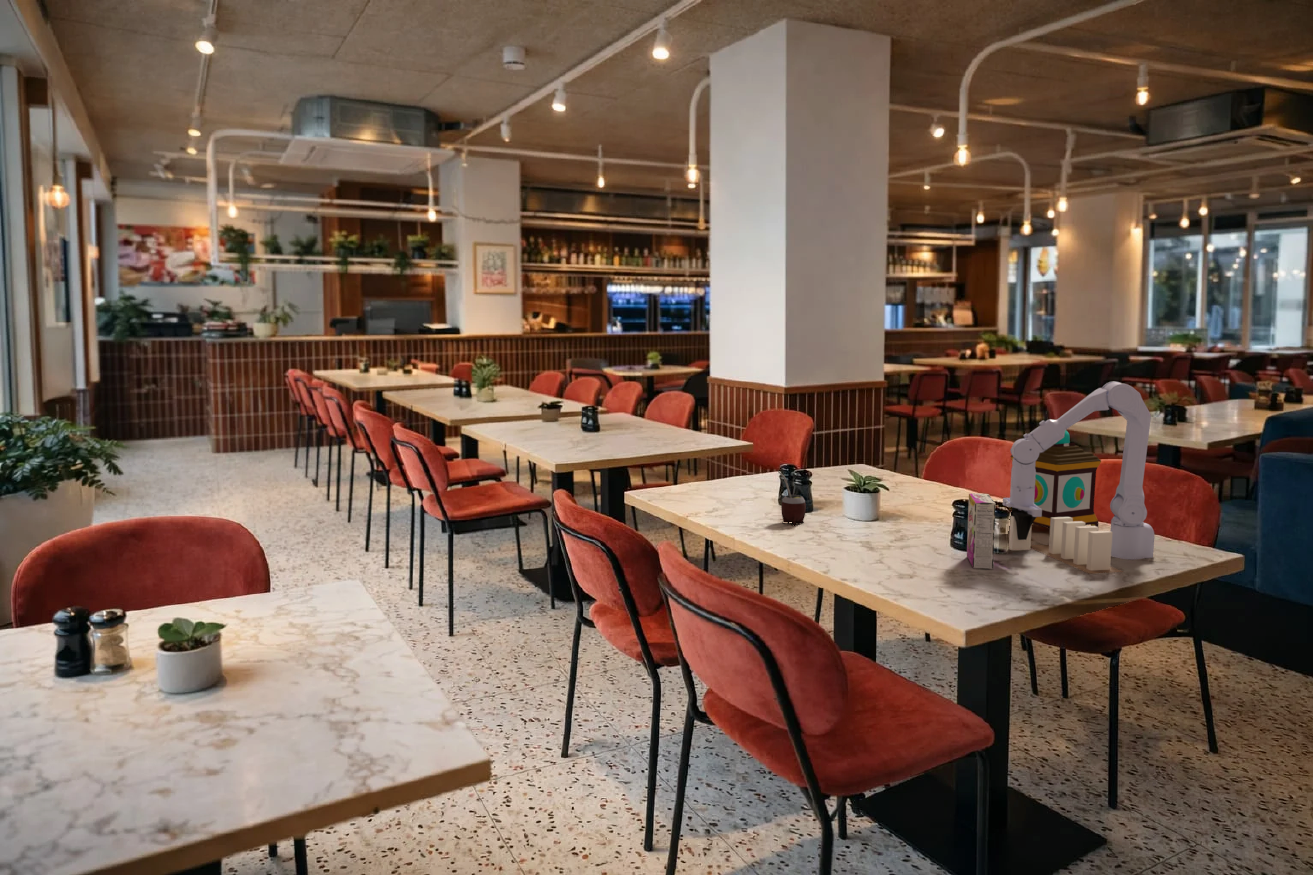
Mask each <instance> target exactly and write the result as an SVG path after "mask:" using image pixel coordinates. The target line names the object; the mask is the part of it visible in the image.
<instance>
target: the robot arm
mask: <svg viewBox="0 0 1313 875" xmlns="http://www.w3.org/2000/svg"><path fill="white" fill-rule="evenodd" d="M1110 408H1111V409H1113V410H1115V411H1116V412H1117V413H1118V414H1119V415H1120V416H1121V417H1122V418H1124V420H1126V427H1125V434H1124V445H1123V453H1122V459H1121V460H1122V462H1121V469H1120V478H1119V483H1118V484H1117V487H1116V489H1115V494H1114V497H1113V498H1112V499H1111V501H1110V503H1109V505H1110V506H1109V507H1110V511H1111V513H1112V514H1113V515H1114V516H1113V517H1112V518H1111V519H1110V530H1109V531H1110V532H1113V533H1112V548H1111V557H1114V558H1118V559H1122V560H1141V559H1153V558H1154V551H1155V550H1154V548H1155V530H1154V529H1153V527H1152V526H1151V524H1149V523H1146V522H1144V521H1145V520H1146V518H1147V516H1148V510H1147V508H1146V505H1145V493H1144V488H1143V486H1144V476H1145V468H1146V460H1147V452H1148V445H1149V443H1148V442H1149V438H1150V437H1149V435H1150V429H1151V428H1150V427H1151V420H1152V415H1151V413H1150V411H1149V408H1148V407H1147V405H1146V404H1145V401H1144V400H1143V397H1142V395H1141V393H1140V392H1139V391H1138V390H1136V388H1134V387H1133V386H1132V385H1129V384H1127V383H1122V382H1119V381H1109V382H1106V383H1105V384H1104V385H1103V386H1102V387H1098V388H1097V389H1095V390H1093V391H1092V392H1091V393H1089V394H1088V395H1087V396H1085V397H1084V398H1083V399H1081V400H1080V401H1079V402H1078V403H1077V404H1075V405H1074V406H1072V407H1071V408H1070V409H1069V410H1068V411H1066V412H1065V413H1063V415H1061V416H1060V417H1059V418H1057V419H1051V418H1050V419H1047V420H1041V421H1040V422H1039V423H1038V424H1039V425H1038V427H1036V428H1034V429H1033V430H1032V431H1031V432H1029V433H1025V434H1023V438H1019V439H1017V440H1015V441H1014V442H1013V443H1012V446H1011V448H1009V450H1010V454H1011V455H1012V456H1013V457H1014V458H1013V461H1012V460H1011V464H1012V466H1011V470H1010V471H1011V472H1010V473H1011V474H1010V491H1009V497H1003V498H1002V505H1003V506H1004V507H1008V508H1011V507H1012V509H1011V510H1012V512H1011V516H1014V517H1015V521H1016V526H1017V536H1018V540H1026V539H1027V536H1028V533H1029V530H1030V527H1031V525H1033V524H1032V523H1033V522H1034V520H1035V519H1036V518H1037V517H1042V509H1040V508H1039V507H1037V506H1036V505H1035V504H1034V495H1035V476H1036V469H1035V462H1036V460H1037V459H1038V457H1039V453H1041V452H1044V451H1045V450H1047V449H1048V448H1050V447H1051V446H1052V445H1054V444H1055V443H1057V442H1058V441H1059V440H1061V439H1062V438H1064V435H1065V430H1066V431H1067V430H1068V429H1069V428H1070V427H1072V426H1073V425H1076V423H1078V422H1080V421H1081V420H1083V419H1084V418H1086V417H1088V416H1089V415H1090V414H1093V412H1094V413H1095V412H1097V411H1098V412H1099V411H1108V410H1110ZM1009 520H1010V519H1009ZM1031 528H1032V527H1031Z"/></svg>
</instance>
